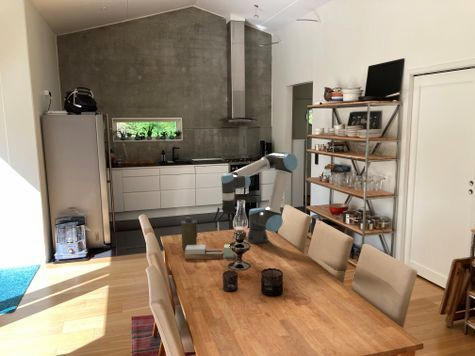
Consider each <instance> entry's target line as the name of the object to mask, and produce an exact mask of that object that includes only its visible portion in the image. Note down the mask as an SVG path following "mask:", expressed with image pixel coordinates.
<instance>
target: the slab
mask: <svg viewBox="0 0 475 356" xmlns="http://www.w3.org/2000/svg"><path fill="white" fill-rule="evenodd" d="M206 249H207V244H197V245H187V246H186V248H184V250H185V251H184V255H185V254H205V251H206Z"/></svg>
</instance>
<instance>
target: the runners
mask: <svg viewBox="0 0 475 356" xmlns="http://www.w3.org/2000/svg"><path fill="white" fill-rule="evenodd" d="M191 259H193V260H196V259H197V260H201V259H203V260H204V259H223V248H206V251H205V254H185V253H184V260H191Z"/></svg>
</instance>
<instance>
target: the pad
mask: <svg viewBox="0 0 475 356" xmlns="http://www.w3.org/2000/svg"><path fill="white" fill-rule="evenodd" d="M236 254H237V253H236ZM236 254H234V257H224V252H222V259H236Z"/></svg>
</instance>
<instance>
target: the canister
mask: <svg viewBox="0 0 475 356" xmlns="http://www.w3.org/2000/svg"><path fill="white" fill-rule="evenodd" d="M180 223H181V225H180V226H181V227H180V228H181V248H183V249H186V246H187V245H198V242H197V238H198V221H197V220H196V219H192V216H191V217H190V216H185V217H184V219H183V220H181V222H180Z"/></svg>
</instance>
